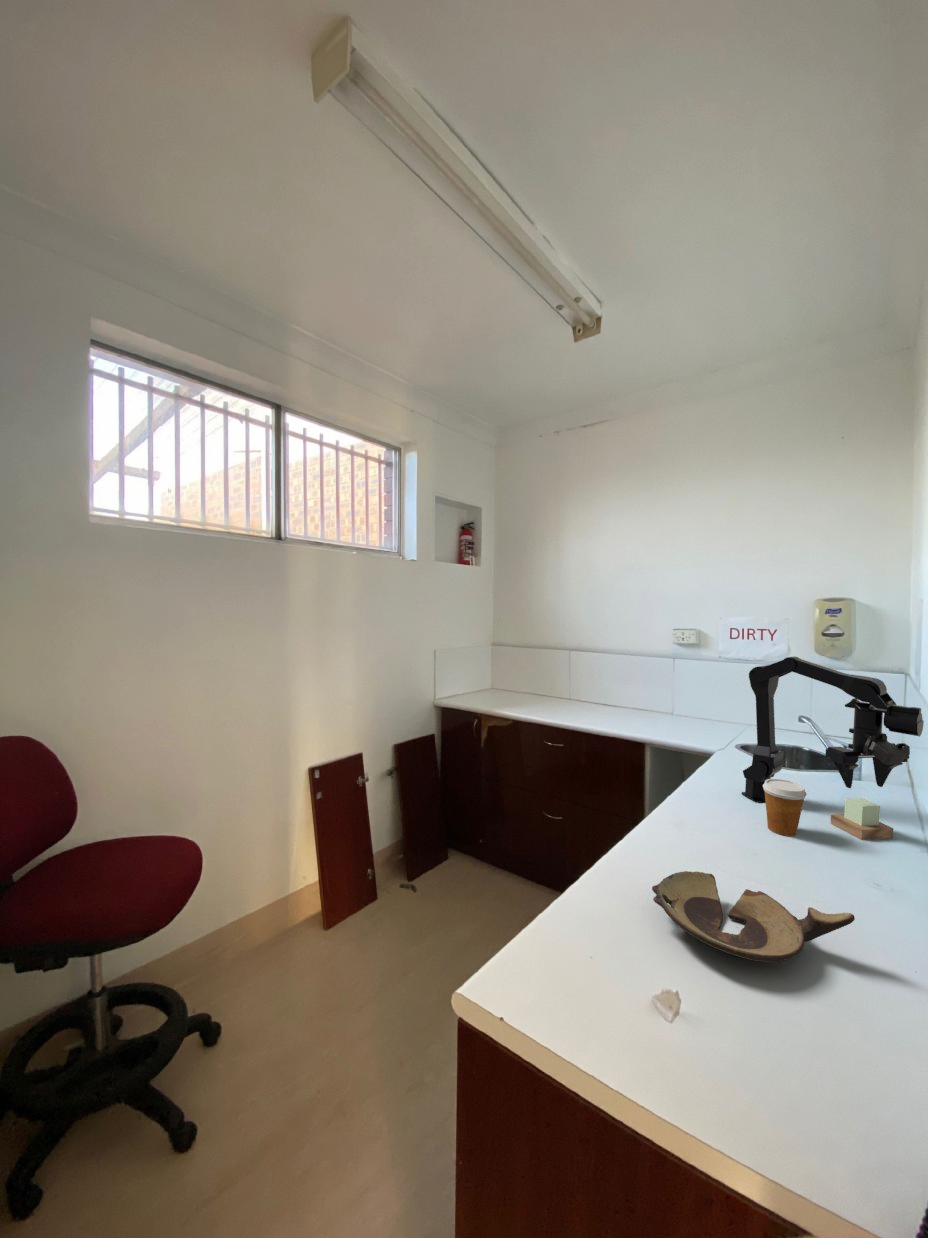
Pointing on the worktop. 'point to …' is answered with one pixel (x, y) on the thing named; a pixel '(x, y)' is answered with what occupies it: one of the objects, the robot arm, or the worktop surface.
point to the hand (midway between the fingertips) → (864, 787)
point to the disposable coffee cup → (783, 805)
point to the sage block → (862, 811)
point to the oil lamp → (741, 918)
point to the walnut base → (862, 828)
